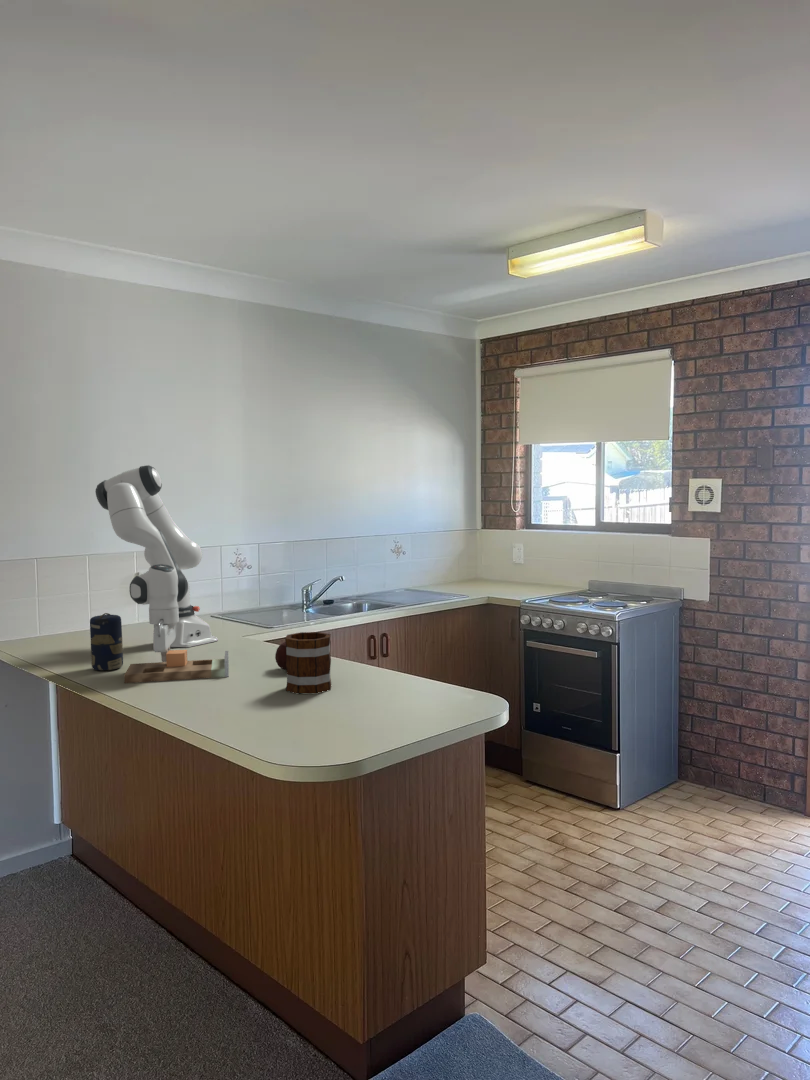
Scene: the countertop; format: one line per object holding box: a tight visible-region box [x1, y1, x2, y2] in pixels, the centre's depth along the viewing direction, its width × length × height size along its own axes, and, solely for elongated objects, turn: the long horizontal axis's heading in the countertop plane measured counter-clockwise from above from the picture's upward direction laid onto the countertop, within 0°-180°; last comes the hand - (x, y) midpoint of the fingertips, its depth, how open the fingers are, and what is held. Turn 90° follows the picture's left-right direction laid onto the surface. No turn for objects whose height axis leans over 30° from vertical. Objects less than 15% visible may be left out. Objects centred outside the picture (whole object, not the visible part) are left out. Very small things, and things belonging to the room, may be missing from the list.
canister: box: [89, 612, 124, 671], centre depth 252 cm, size 10×10×18 cm
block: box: [166, 649, 188, 667], centre depth 246 cm, size 6×6×4 cm
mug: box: [284, 631, 332, 694], centre depth 227 cm, size 20×14×15 cm
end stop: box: [224, 650, 230, 678], centre depth 247 cm, size 1×15×5 cm, turn 12°
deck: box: [123, 658, 226, 684], centre depth 243 cm, size 29×15×2 cm, turn 102°
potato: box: [274, 641, 286, 671], centre depth 247 cm, size 9×12×9 cm
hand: (165, 660), depth 246 cm, fingers closed, pressing on block
